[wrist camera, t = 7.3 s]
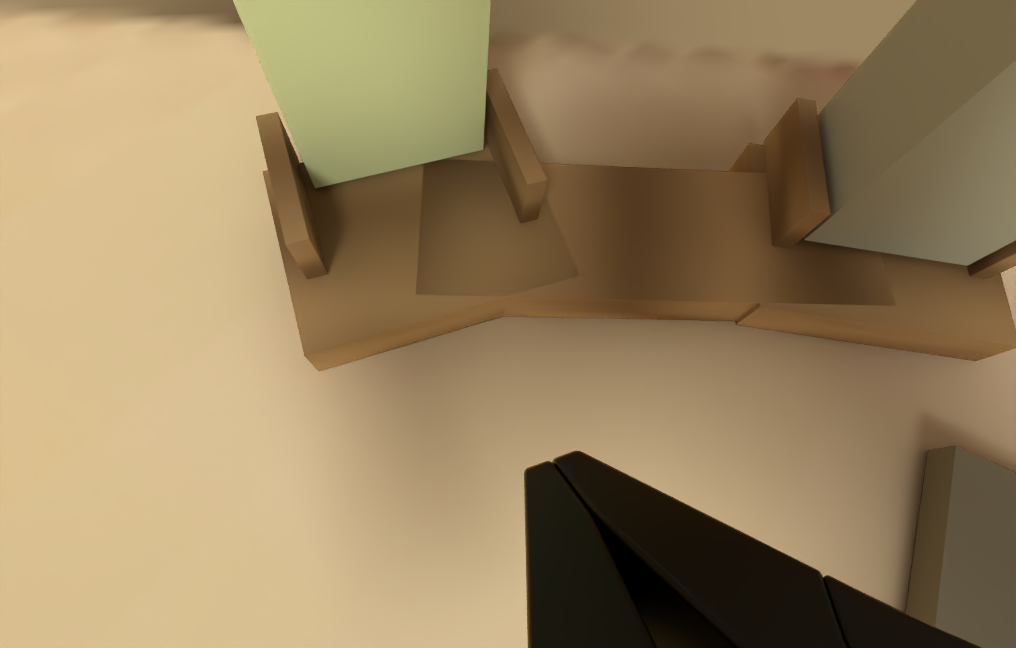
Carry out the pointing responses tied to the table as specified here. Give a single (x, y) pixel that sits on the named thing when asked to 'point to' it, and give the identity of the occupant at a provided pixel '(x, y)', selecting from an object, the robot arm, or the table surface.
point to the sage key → (374, 79)
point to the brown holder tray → (606, 249)
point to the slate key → (927, 137)
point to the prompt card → (966, 549)
